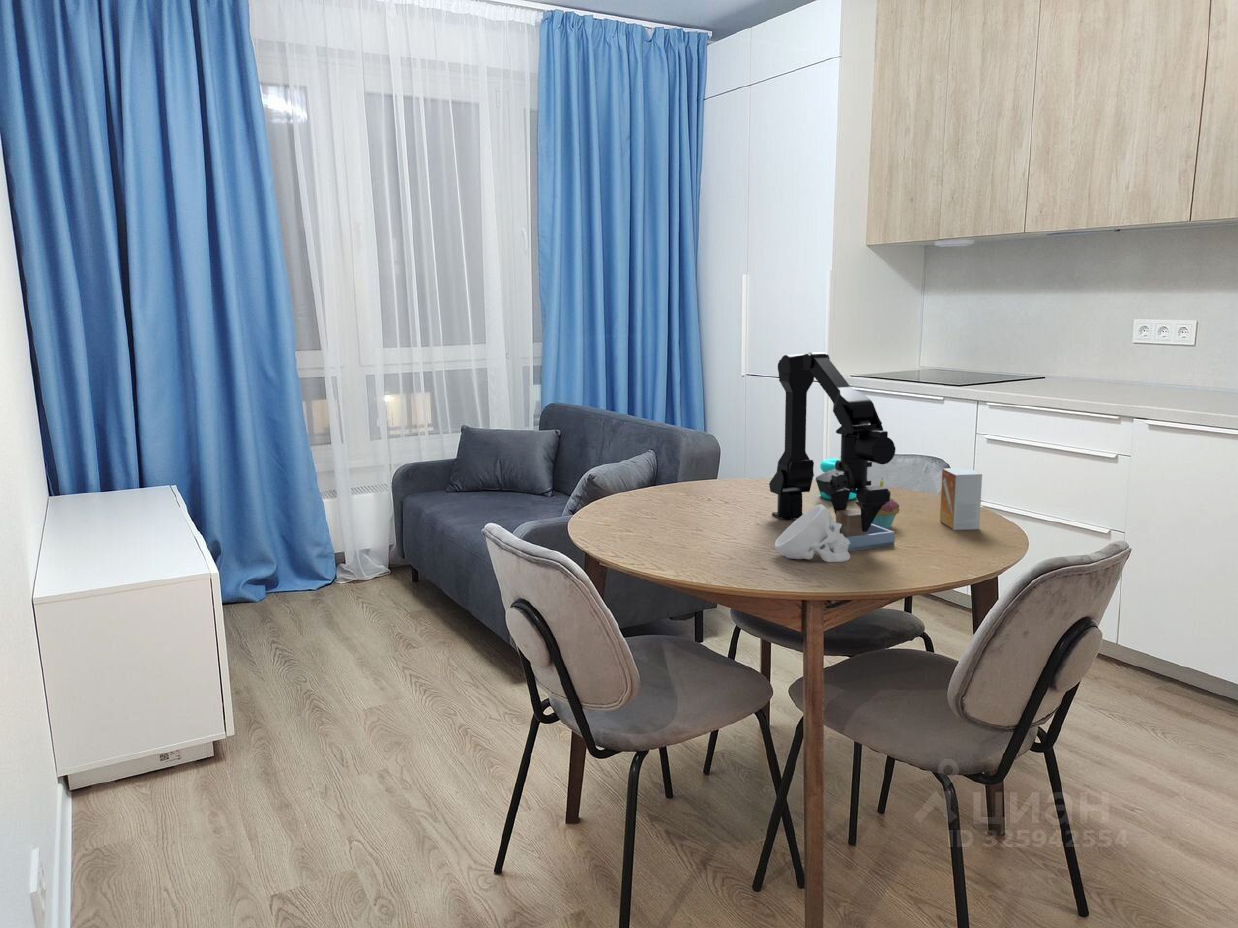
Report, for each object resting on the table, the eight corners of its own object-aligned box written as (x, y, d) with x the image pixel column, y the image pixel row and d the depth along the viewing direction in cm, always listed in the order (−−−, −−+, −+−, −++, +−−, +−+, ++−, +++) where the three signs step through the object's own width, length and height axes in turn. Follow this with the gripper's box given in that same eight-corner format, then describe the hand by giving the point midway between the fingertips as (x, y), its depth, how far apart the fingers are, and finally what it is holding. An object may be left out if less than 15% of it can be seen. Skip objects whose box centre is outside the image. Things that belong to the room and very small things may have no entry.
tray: (810, 539, 202) (810, 526, 202) (862, 532, 207) (862, 520, 206) (840, 552, 192) (841, 538, 191) (894, 545, 196) (894, 531, 196)
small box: (939, 521, 216) (941, 467, 213) (965, 521, 216) (968, 467, 213) (952, 530, 208) (955, 474, 205) (980, 529, 208) (983, 473, 206)
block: (835, 537, 201) (836, 510, 200) (854, 534, 202) (855, 508, 201) (848, 542, 196) (849, 515, 195) (868, 540, 198) (868, 513, 197)
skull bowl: (861, 559, 182) (829, 508, 181) (801, 593, 185) (769, 543, 184) (857, 544, 192) (826, 496, 191) (799, 577, 195) (769, 529, 194)
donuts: (850, 465, 234) (814, 462, 240) (849, 503, 236) (813, 498, 242) (864, 459, 242) (829, 456, 248) (863, 496, 244) (828, 492, 250)
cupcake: (900, 531, 207) (902, 480, 205) (862, 530, 209) (863, 479, 207) (896, 522, 216) (898, 473, 213) (860, 521, 217) (861, 472, 215)
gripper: (798, 453, 202) (797, 521, 204) (847, 467, 184) (845, 541, 187) (841, 449, 205) (839, 516, 208) (893, 462, 188) (890, 535, 191)
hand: (852, 526), depth 199 cm, fingers open, 9 cm apart
